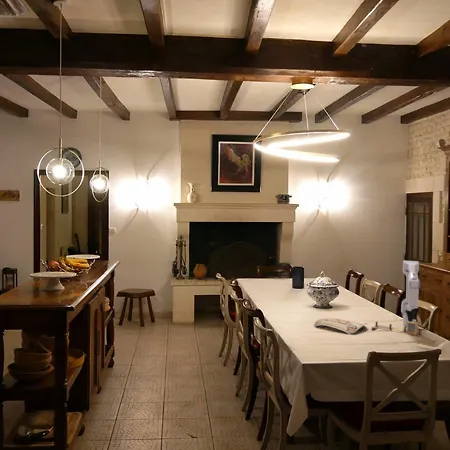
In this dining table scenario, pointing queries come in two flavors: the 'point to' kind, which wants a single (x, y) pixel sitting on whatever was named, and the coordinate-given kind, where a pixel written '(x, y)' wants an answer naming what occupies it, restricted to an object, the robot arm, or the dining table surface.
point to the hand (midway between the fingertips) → (412, 320)
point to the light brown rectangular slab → (412, 327)
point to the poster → (340, 324)
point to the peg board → (395, 329)
